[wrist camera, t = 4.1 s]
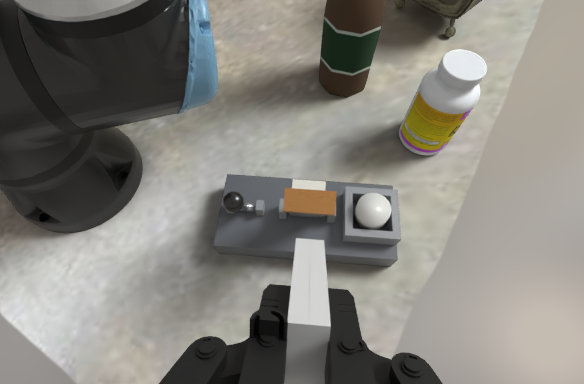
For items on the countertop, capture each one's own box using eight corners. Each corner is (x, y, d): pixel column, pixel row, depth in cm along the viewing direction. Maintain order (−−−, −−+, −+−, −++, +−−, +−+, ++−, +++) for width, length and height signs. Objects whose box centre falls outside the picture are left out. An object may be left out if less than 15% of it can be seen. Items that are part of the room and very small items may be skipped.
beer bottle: (322, 100, 49) (344, -99, 27) (314, 64, 52) (329, -139, 31) (372, 96, 49) (434, -105, 28) (361, 60, 53) (408, -143, 31)
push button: (387, 231, 35) (392, 225, 33) (354, 229, 35) (357, 222, 34) (385, 201, 37) (390, 193, 35) (353, 199, 37) (356, 191, 35)
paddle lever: (324, 220, 37) (335, 214, 25) (289, 217, 37) (283, 210, 25) (325, 204, 37) (336, 191, 25) (290, 202, 37) (284, 187, 25)
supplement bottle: (439, 164, 44) (491, 96, 32) (391, 147, 45) (425, 75, 34) (450, 128, 46) (501, 53, 35) (405, 113, 48) (440, 36, 36)
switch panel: (390, 266, 37) (403, 254, 33) (218, 253, 38) (209, 239, 34) (386, 196, 42) (397, 177, 37) (231, 185, 42) (224, 165, 38)
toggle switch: (254, 216, 37) (241, 212, 29) (236, 215, 37) (219, 210, 29) (255, 199, 37) (243, 190, 29) (238, 197, 37) (221, 188, 29)
